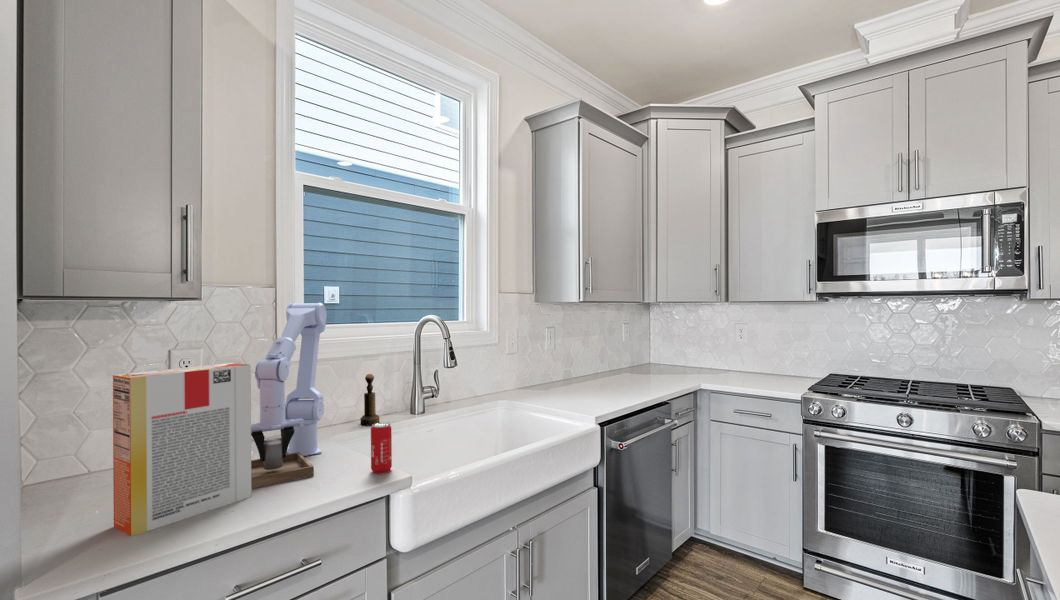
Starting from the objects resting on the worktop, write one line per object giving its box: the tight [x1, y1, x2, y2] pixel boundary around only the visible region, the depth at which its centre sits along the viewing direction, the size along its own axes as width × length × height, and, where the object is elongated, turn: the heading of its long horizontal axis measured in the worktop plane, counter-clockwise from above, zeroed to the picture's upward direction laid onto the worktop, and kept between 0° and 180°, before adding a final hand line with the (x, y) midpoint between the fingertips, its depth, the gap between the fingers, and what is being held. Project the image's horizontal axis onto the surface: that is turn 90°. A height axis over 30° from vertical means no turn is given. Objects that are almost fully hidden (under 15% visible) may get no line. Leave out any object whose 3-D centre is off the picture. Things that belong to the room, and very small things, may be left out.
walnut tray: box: [251, 452, 315, 490], centre depth 131 cm, size 16×16×2 cm
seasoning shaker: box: [264, 437, 283, 470], centre depth 131 cm, size 4×4×7 cm
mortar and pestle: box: [360, 373, 381, 426], centre depth 186 cm, size 7×6×18 cm
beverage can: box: [370, 422, 393, 475], centre depth 133 cm, size 5×5×12 cm
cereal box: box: [112, 362, 252, 537], centre depth 109 cm, size 23×8×30 cm, turn 148°
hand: (272, 458), depth 131 cm, fingers closed on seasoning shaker, 4 cm apart
